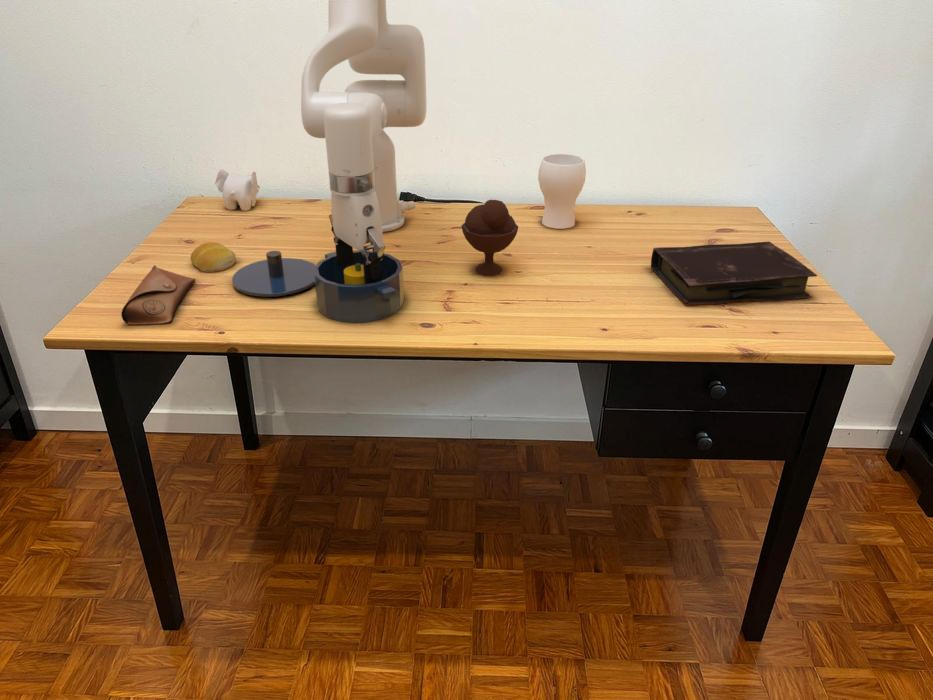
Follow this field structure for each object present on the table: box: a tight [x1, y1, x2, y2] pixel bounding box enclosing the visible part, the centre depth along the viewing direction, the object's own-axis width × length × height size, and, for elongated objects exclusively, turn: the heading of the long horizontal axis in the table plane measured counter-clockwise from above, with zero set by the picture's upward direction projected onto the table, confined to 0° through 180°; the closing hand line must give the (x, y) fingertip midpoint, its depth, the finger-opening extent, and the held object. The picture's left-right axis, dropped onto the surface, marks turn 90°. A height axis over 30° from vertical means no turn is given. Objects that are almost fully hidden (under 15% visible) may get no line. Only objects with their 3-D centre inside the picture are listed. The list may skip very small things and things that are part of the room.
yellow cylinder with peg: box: [344, 263, 365, 285], centre depth 131 cm, size 5×5×7 cm
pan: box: [313, 250, 405, 324], centre depth 132 cm, size 16×21×7 cm
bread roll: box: [190, 241, 236, 273], centre depth 147 cm, size 8×9×4 cm
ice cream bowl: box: [461, 199, 519, 277], centre depth 142 cm, size 11×11×15 cm
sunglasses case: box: [121, 264, 196, 326], centre depth 132 cm, size 18×7×7 cm
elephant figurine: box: [214, 169, 261, 212], centre depth 176 cm, size 10×12×9 cm
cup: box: [537, 153, 587, 230], centre depth 166 cm, size 11×11×15 cm
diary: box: [650, 241, 818, 305], centre depth 141 cm, size 19×25×5 cm
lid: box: [231, 250, 317, 297], centre depth 140 cm, size 17×17×6 cm
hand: (359, 272), depth 131 cm, fingers open, 9 cm apart
